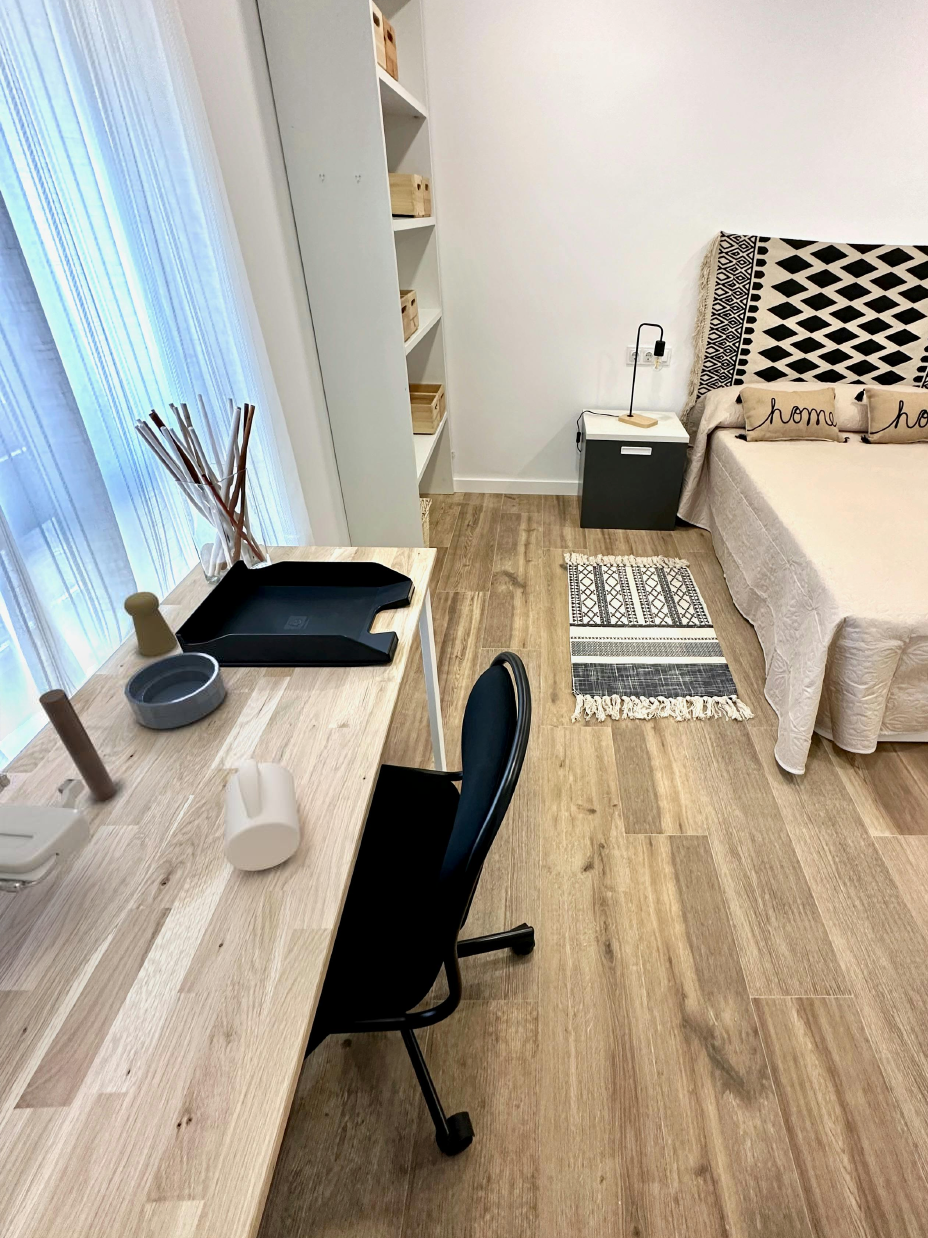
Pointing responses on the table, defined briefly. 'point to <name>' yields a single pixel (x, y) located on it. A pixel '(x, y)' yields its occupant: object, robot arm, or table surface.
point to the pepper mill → (149, 624)
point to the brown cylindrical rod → (78, 743)
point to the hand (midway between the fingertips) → (39, 779)
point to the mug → (260, 816)
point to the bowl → (175, 690)
